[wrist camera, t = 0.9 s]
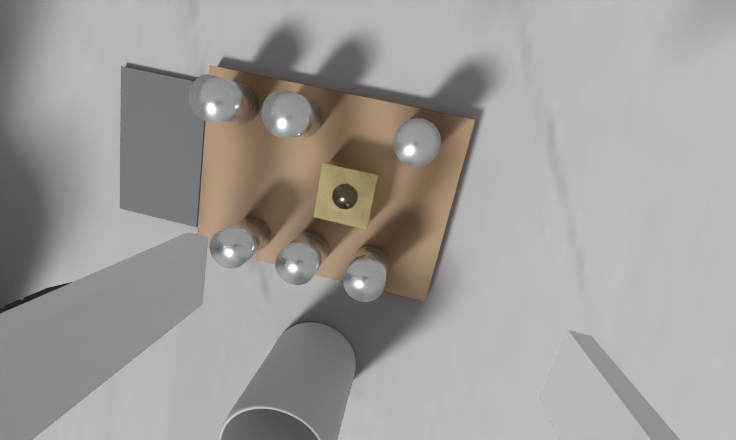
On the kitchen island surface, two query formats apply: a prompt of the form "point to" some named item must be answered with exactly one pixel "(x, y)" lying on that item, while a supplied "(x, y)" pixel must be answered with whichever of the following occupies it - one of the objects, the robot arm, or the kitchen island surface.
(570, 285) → the kitchen island surface
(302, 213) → the board
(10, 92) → the kitchen island surface
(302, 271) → the spacers
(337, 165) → the nut
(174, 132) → the mat
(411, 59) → the kitchen island surface
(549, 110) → the kitchen island surface
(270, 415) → the mug
